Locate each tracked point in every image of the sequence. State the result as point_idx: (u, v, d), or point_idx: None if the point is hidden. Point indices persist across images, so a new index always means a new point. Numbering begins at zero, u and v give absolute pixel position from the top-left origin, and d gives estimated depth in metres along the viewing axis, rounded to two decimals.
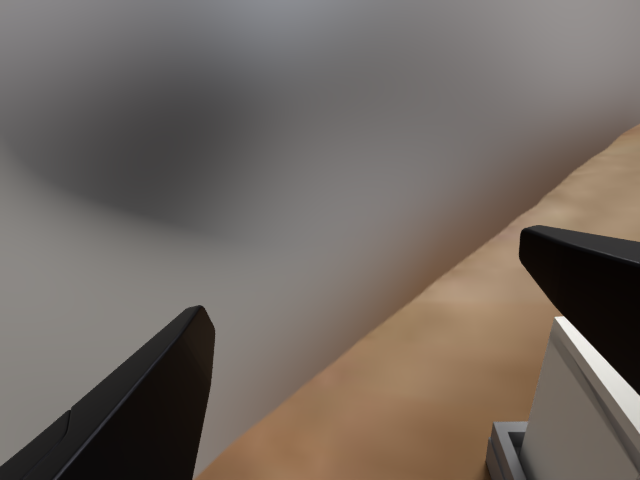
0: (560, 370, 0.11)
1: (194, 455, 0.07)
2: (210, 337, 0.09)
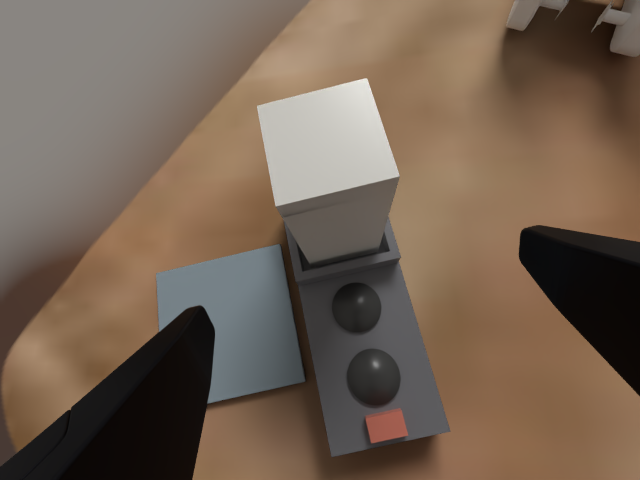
0: None
1: (194, 455, 0.07)
2: (210, 337, 0.09)
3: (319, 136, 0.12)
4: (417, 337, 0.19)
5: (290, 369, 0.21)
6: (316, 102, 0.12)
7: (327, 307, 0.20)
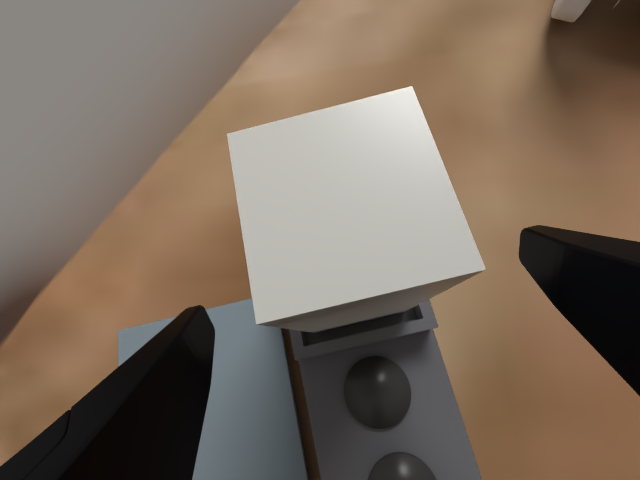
0: None
1: (194, 455, 0.07)
2: (210, 337, 0.09)
3: (334, 189, 0.07)
4: (462, 436, 0.14)
5: (289, 466, 0.16)
6: (327, 128, 0.07)
7: (338, 389, 0.15)
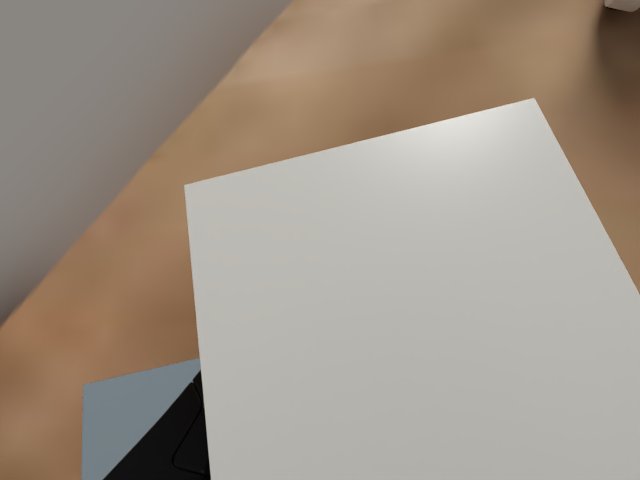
0: None
1: None
2: None
3: (393, 312, 0.03)
4: None
5: None
6: (374, 179, 0.04)
7: None
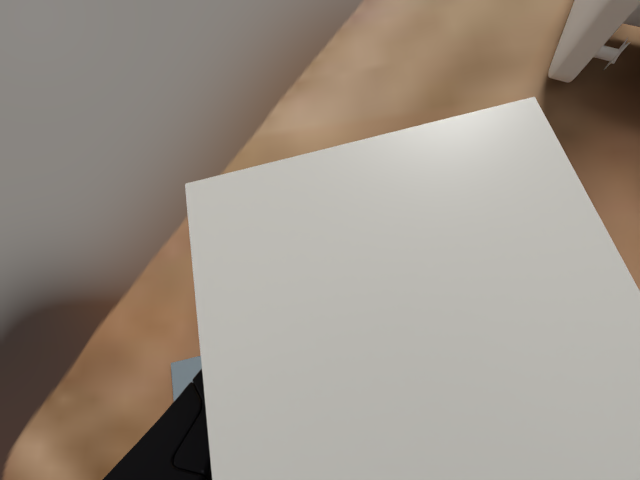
0: None
1: None
2: None
3: (394, 310, 0.03)
4: None
5: None
6: (374, 177, 0.04)
7: None
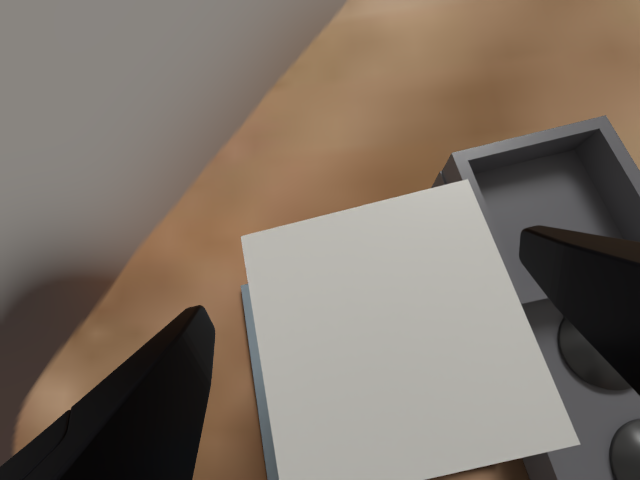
0: None
1: (194, 455, 0.07)
2: (210, 337, 0.09)
3: (376, 319, 0.05)
4: None
5: None
6: (365, 233, 0.06)
7: (550, 345, 0.12)
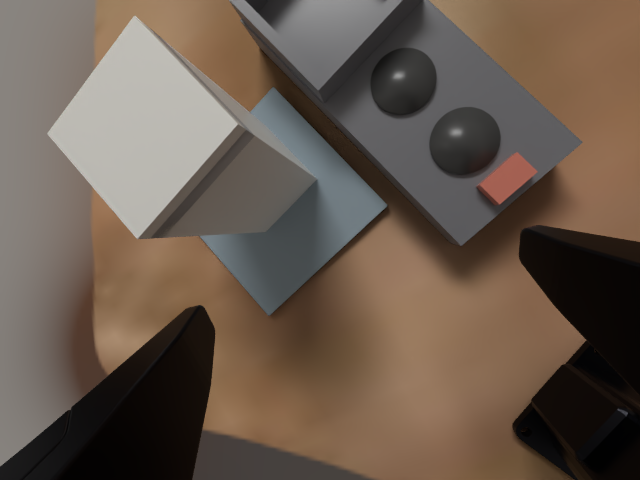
0: None
1: (194, 455, 0.07)
2: (210, 337, 0.09)
3: (130, 129, 0.09)
4: (493, 68, 0.14)
5: (365, 203, 0.18)
6: (102, 87, 0.09)
7: (369, 104, 0.15)
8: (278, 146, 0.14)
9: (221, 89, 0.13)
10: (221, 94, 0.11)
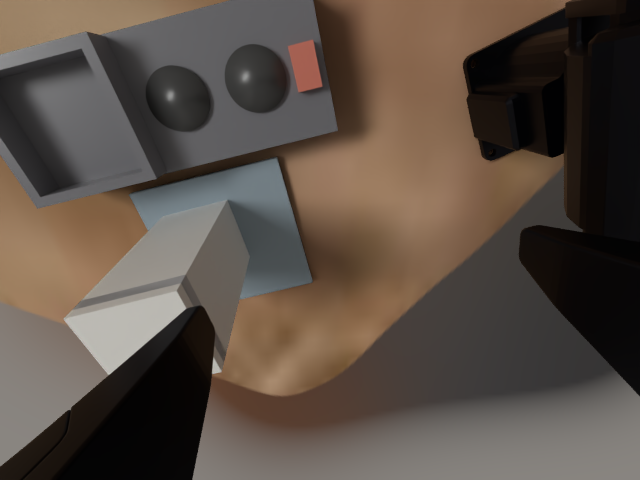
0: None
1: (195, 455, 0.07)
2: (210, 337, 0.09)
3: None
4: (203, 14, 0.14)
5: (266, 173, 0.20)
6: (107, 355, 0.13)
7: (185, 136, 0.17)
8: (191, 234, 0.16)
9: (126, 257, 0.16)
10: (137, 270, 0.14)
